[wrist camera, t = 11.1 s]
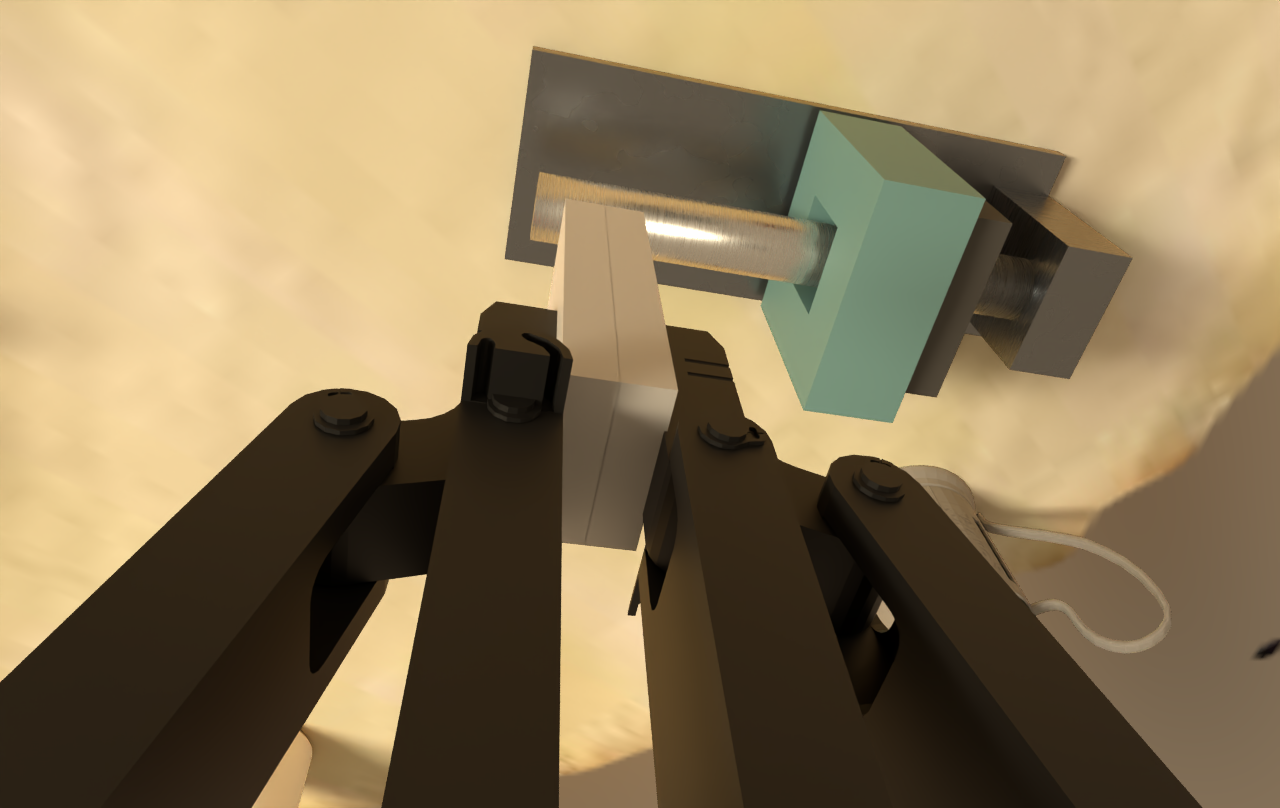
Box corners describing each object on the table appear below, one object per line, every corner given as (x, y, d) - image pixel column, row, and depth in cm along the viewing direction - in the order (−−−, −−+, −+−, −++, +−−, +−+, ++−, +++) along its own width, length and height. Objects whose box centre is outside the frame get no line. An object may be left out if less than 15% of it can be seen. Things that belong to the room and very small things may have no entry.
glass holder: (817, 498, 55) (891, 695, 42) (1045, 409, 52) (1197, 590, 40) (859, 590, 59) (938, 794, 46) (1072, 512, 57) (1215, 705, 44)
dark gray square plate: (845, 309, 45) (893, 390, 38) (900, 154, 41) (965, 215, 34) (882, 314, 45) (936, 397, 39) (940, 161, 41) (1012, 223, 35)
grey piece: (505, 252, 45) (492, 332, 38) (533, 46, 40) (524, 91, 33) (978, 329, 49) (1050, 415, 42) (1058, 151, 44) (1156, 213, 37)
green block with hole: (760, 305, 46) (803, 410, 37) (819, 110, 41) (884, 179, 32) (834, 317, 46) (892, 422, 38) (901, 126, 41) (985, 198, 33)
